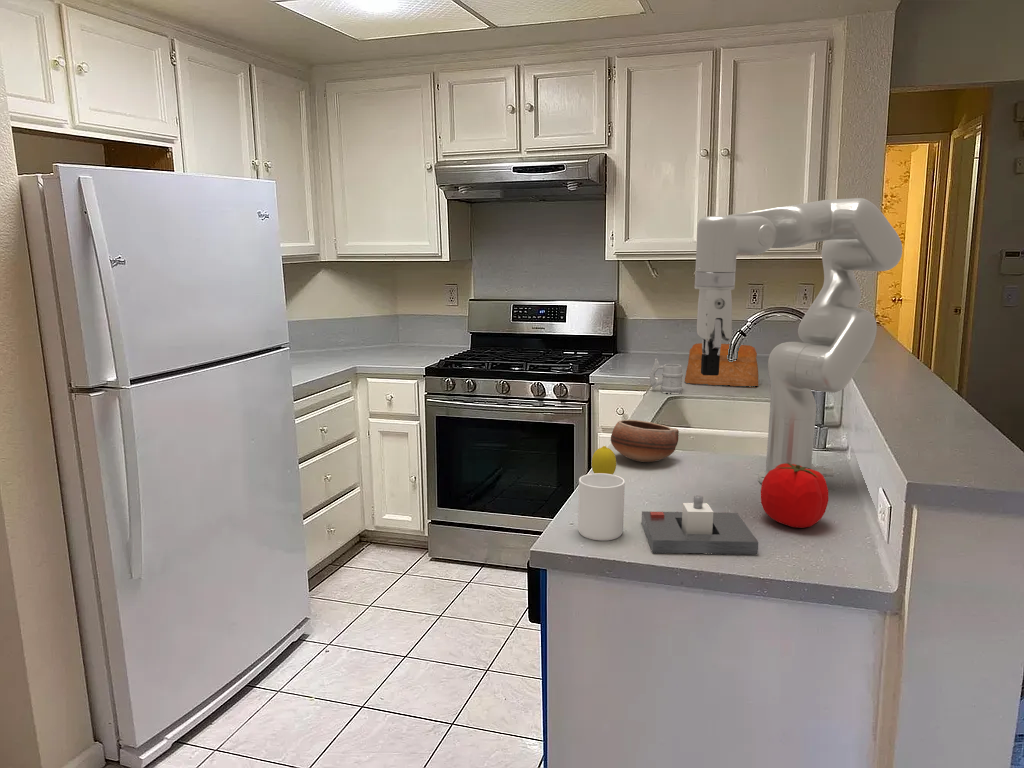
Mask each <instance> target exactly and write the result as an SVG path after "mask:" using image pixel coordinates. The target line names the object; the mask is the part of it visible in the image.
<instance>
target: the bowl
mask: <svg viewBox="0 0 1024 768" xmlns="http://www.w3.org/2000/svg"><path fill="white" fill-rule="evenodd" d="M679 432H680V431H679V429H678V428H673V427H669V426H667V425H664V424H658V423H656V422H651V421H647V420H646V421H645V420H638V419H621V420H618V421H617V423H616V424H615V426H614V427H613V430H612V432H611V435H610V443H611V445H612V446H613V448H614V449H615V450H616V451H617V452H618V453H619V454H621V455H622V456H624V457H626V458H628V459H630V460H633V461H636V462H639V463H640V462H642V463H652V462H657V461H658V462H659V461H660V460H663V459H666V458H668V457H669V456H671V455H672V454H674V452H675V451H676V448H677V447H678V443H679V435H680V434H679Z"/></svg>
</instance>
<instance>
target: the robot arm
mask: <svg viewBox="0 0 1024 768" xmlns="http://www.w3.org/2000/svg"><path fill="white" fill-rule="evenodd" d="M696 230H697V231H696V254H695V273H694V289H695V290H699V291H698V300H697V301H698V302H697V315H696V316H697V317H696V332H697V336H699V337H700V338H701V343H702V359H701V374H703V375H719V363H720V348H721V344H722V340H724V341H726V342H730V341H731V340H732V338H733V337H732V335H733V334H732V333H733V326H732V325H733V301H732V299H733V297H732V291H734V290H735V288H736V287H735V286H736V271H737V270H736V269H737V268H736V267H737V255H740V256H742V255H743V256H745V255H746V256H756V255H762V254H764V253H766V252H768V251H769V250H770V249H785V248H795V247H800V246H806V245H808V244H814V243H820V242H823V244H822V248H821V260H822V267H823V278H824V279H823V284H822V288H821V289H820V291H819V292H818V294H817V295H816V298H814V300H813V302H812V304H811V305H810V306H809V308H808V309H807V311H806V312H805V314H804V316H803V317H802V318H801V321H800V322H799V324H798V328H797V335H798V337H799V339H800V341H786V342H782V343H780V344H777V345H776V346H775V347H774V348H773V349H772V350H771V351H770V353H769V356H768V362H767V370H768V377H769V385H770V386H769V387H770V401H769V416H768V418H769V419H768V432H767V446H766V447H767V449H766V461H765V470H763V471H760V472H759V473H758V475H757V480H758V482H759V483H760V484H762V482H763V480H764V478H765V476H766V475H767V473H768V472H769V471H770V470H773V469H775V468H776V467H777V466H778V465H780V464H784V463H786V462H787V464H788V463H789V464H795V465H800V466H802V467H807V468H805V469H808V468H810V469H812V470H815V471H818V472H820V473H821V474H822V475H823V476H824V478H833V477H834V475H835V470H834V469H833V468H831V467H829V468H824V466H823V465H822V466H821V465H820V466H819V465H818V466H817V465H815V464H814V463H813V451H814V443H815V442H814V438H815V429H816V428H815V427H816V417H817V405H816V399H815V397H814V394H813V392H812V391H818V392H824V393H830V394H831V393H838V392H840V391H842V390H843V389H845V388H846V387H847V386H848V384H849V383H850V382H851V380H852V378H853V377H854V376H855V374H856V373H857V371H858V369H859V368H860V366H861V365H862V362H864V360H865V359H866V356H867V355H868V354H869V352H870V351H871V349H872V347H873V345H874V342H875V339H876V336H877V332H878V331H877V330H878V329H877V328H878V325H877V321H876V318H875V315H873V313H872V312H871V311H869V310H867V309H864V308H862V307H858V306H859V304H860V302H861V300H862V291H861V287H860V285H859V283H858V281H857V279H856V278H857V277H856V275H855V272H854V271H858V272H860V271H861V272H862V271H865V272H886V271H887V272H888V271H890V270H892V269H893V268H896V266H897V265H898V264H899V262H900V261H901V258H902V257H903V256H902V255H903V245H902V244H903V243H902V241H901V238H900V236H899V234H898V233H897V231H896V230H895V228H894V227H893V226H892V225H891V223H890V222H889V220H888V219H887V217H886V216H885V215H884V214H883V212H882V211H881V210H880V209H879V207H877V205H876V204H874V203H873V202H872V201H870V200H868V199H867V198H863V197H854V198H834V199H822V200H817V201H810V202H804V203H798V204H791V205H785V206H783V205H782V206H779V207H771V208H767V209H766V208H765V209H762V210H755V211H747V212H742V213H734V214H727V215H726V214H725V215H713V216H712V215H711V216H709V215H708V216H703V217H701V218H700V219H699V220H698V222H697V228H696ZM801 341H802V342H801ZM773 466H775V467H773Z"/></svg>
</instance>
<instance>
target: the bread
mask: <svg viewBox="0 0 1024 768" xmlns="http://www.w3.org/2000/svg"><path fill="white" fill-rule="evenodd" d="M729 345H730V343H721V348H720V363H719V375H703V374H701V359H702V342H700V343H695V344H693V345H692V347H691V348H690V349H689V350H688V351H689V352H688V353H689V354H688V355H689V356H688V360H687V361H688V362H687V366H686V370H685V377H684V383H685V382H686V383H685V384H687V383H690V385H703V384H708V385H707V386H715V385H730V386H729V387H736V386H758V387H759V368H758V367H759V366H758V360H757V355H758V354H757V350H756V348H755V347H753V346H751V345H746V344H740V345H741V346H740V348H739V351H738V358H737V360H736V361H733V362H729V361H728V359H727V355H728V349H729Z"/></svg>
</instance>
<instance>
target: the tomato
mask: <svg viewBox="0 0 1024 768" xmlns="http://www.w3.org/2000/svg"><path fill="white" fill-rule="evenodd" d="M773 467H775V466H773ZM805 468H807V467H802V466H800V465H795V464H789V463H788V464H787V462H786V463H784V464H780V465H778V466H777V467H776V468H775V469H773V470H770V471H769V472H768V473H767V475H766V476H765V478H764V480H763V482H762V483H761V488H760V503H761V506H762V509H763V511H764V513H765V514H766V515H767V516H768V517H770V518H771V519H772V520H773V521H776V522H778V523H779V524H782V525H786V526H789V527H791V528H797V529H798V528H801V529H805V528H810V527H812V526H814V525H815V524H816V523H818V522H819V521H821V519H822V518H823V517H824V515H825V512H826V510H827V507H828V503H829V487H828V485H827V481H826V479H825V478H826V477H824V476H823V475H822V474H821V473H820V472H818V471H815V470H812V469H810V468H808V469H805Z"/></svg>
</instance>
